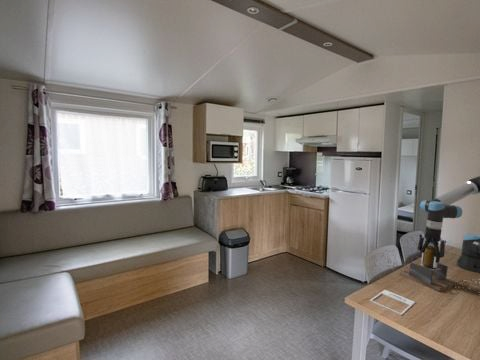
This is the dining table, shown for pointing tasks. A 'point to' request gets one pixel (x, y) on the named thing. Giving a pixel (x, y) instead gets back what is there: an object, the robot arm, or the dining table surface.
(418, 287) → the dining table surface
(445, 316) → the dining table surface
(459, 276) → the dining table surface
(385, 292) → the photo frame
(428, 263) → the condiment
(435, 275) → the tray
